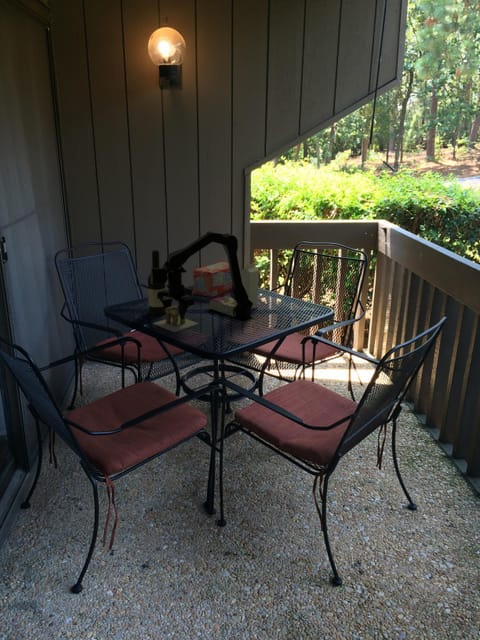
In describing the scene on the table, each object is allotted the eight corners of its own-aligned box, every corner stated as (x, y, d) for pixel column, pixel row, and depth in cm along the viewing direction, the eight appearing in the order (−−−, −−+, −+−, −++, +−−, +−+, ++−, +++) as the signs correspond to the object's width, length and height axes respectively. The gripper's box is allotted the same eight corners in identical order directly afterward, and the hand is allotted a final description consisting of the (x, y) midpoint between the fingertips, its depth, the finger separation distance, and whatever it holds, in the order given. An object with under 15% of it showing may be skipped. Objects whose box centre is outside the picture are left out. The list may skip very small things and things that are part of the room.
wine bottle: (162, 316, 228) (160, 252, 218) (145, 315, 230) (143, 251, 220) (168, 311, 236) (167, 248, 226) (152, 309, 237) (150, 247, 227)
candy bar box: (225, 295, 246) (250, 302, 236) (225, 304, 248) (249, 312, 237) (209, 299, 238) (233, 307, 228) (209, 309, 240) (233, 317, 230)
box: (220, 283, 286) (220, 260, 281) (239, 287, 280) (239, 263, 275) (192, 294, 264) (192, 269, 259) (212, 298, 258) (212, 272, 253)
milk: (257, 307, 244) (259, 264, 237) (248, 310, 240) (250, 265, 233) (248, 304, 248) (250, 261, 241) (240, 307, 244) (241, 263, 237)
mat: (198, 324, 219) (198, 323, 219) (174, 332, 209) (174, 331, 209) (177, 317, 228) (177, 315, 228) (153, 324, 218) (153, 322, 218)
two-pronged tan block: (185, 323, 218) (184, 308, 216) (174, 326, 214) (174, 311, 212) (176, 320, 222) (175, 305, 220) (165, 323, 218) (165, 308, 216)
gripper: (203, 283, 212) (203, 317, 217) (175, 275, 224) (175, 308, 229) (184, 288, 204) (184, 323, 209) (155, 279, 216) (156, 313, 221)
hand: (175, 316), depth 217 cm, fingers open, 8 cm apart
